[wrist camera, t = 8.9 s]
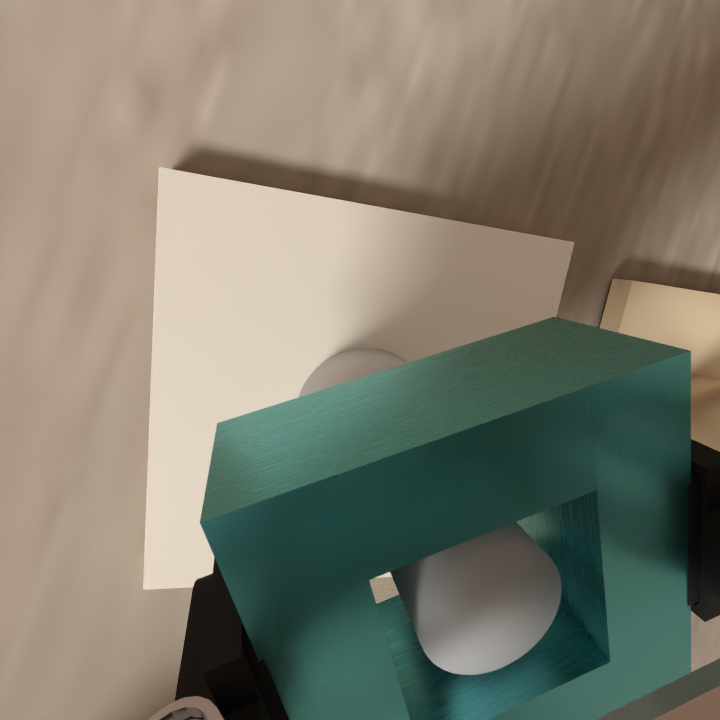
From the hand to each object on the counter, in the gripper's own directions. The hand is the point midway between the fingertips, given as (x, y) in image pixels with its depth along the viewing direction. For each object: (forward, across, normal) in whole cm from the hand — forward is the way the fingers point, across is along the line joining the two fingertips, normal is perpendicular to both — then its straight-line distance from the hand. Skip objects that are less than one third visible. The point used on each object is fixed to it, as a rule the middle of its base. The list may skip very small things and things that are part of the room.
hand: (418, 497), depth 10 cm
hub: (+7, 0, 0) cm, 7 cm away
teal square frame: (-1, 0, 0) cm, 1 cm away
